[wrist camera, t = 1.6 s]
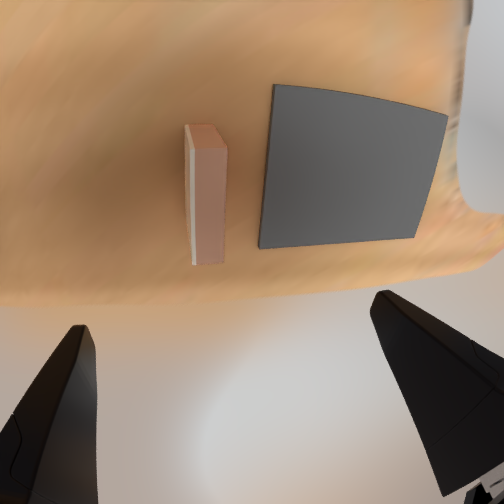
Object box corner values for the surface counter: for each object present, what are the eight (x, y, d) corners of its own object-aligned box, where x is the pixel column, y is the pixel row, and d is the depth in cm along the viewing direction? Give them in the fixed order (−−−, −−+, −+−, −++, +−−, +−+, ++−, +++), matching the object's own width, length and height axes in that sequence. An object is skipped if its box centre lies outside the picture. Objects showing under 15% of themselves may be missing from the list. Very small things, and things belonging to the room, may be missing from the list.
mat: (258, 246, 23) (259, 249, 22) (273, 84, 16) (275, 84, 16) (411, 235, 26) (414, 237, 26) (445, 114, 20) (448, 116, 19)
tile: (185, 218, 20) (192, 265, 16) (184, 124, 17) (189, 149, 13) (210, 216, 20) (223, 262, 17) (213, 123, 17) (227, 148, 13)
